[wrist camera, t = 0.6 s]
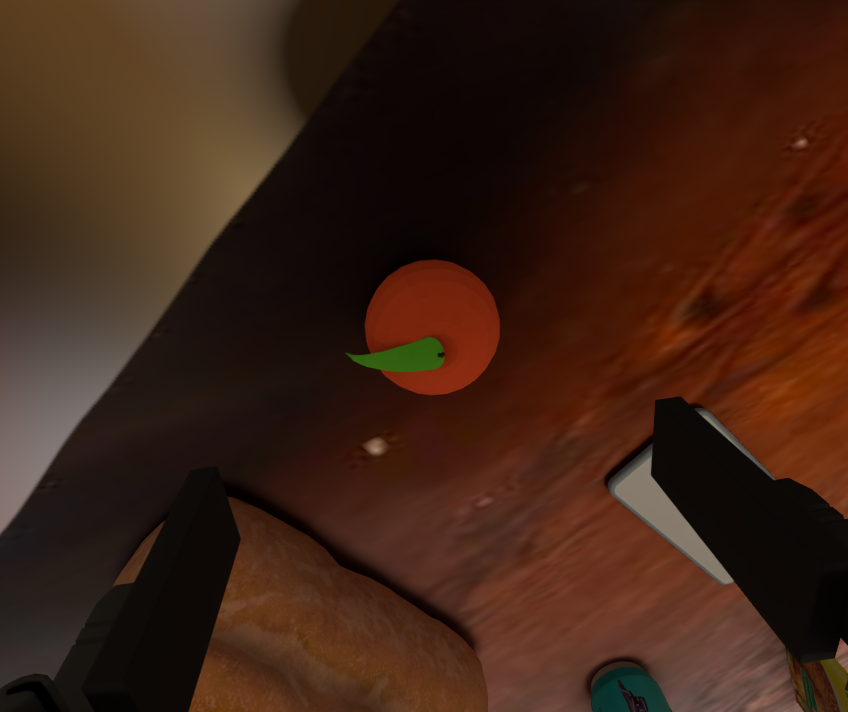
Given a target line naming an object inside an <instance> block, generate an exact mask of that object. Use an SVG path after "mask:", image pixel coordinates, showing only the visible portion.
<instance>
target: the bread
mask: <svg viewBox="0 0 848 712" xmlns="http://www.w3.org/2000/svg"><path fill="white" fill-rule="evenodd" d="M228 501H229V504H230V507H231V510H232V513H233V516H234V519H235V522H236V525H237V528H238V531H239V534H240V537H241V541H240V544H239V548H238V551H237V554H236V557H235V561H234V564H233V567H232V571H231V574H230V577H229V580H228V584H227V587H226V590H225V594H224V597H223V600H222V603H221V607H220V610H219V613H218V617H217V620H216V623H215V626H214V630H213V633H212V636H211V640H210V643H209V646H208V650H207V653H206V656H205V659H204V663H203V666H202V669H201V673H200V676H199V679H198V682H197V686H196V689H195V692H194V696H193V699H192V702H191V705H190V709H189V712H488V695H487V687H486V683H485V678H484V674H483V670H482V666H481V662H480V660H479V659H478V657H477V656H476V654H475V653H474V651H473V650H472V649H471V648H470V646H469V645H468V644H467V643H466V642H465V641H464V640H463V638H462V637H460V636H459V635H458V634H457V633H455V632H454V631H453V630H451V629H450V628H449V627H447V626H446V625H445V624H443V623H442V622H441V621H439V620H436V619H434V618H431V617H429V616H428V615H427V614H425V613H424V612H423V611H421V610H420V609H418V608H417V607H416V606H414V605H413V604H411V603H410V602H408V601H406V600H405V599H403V598H402V597H400V596H398V595H397V594H396V593H395V592H393V591H392V590H391V589H389V588H387V587H385V586H384V585H382V584H380V583H378V582H376V581H374V580H373V579H371V578H369V577H366V576H363V575H361V574H358V573H356V572H353V571H350V570H348V569H346V568H343V567H341V566H339V564H338V563H337V562H336V561H335V560H334V559H333V557H332V556H331V555H330V554H329V553H328V552H327V551H326V549H325V548H323V547H322V546H321V545H320V544H318V543H317V542H316V541H314V540H313V539H312V538H310V537H309V536H308V535H306V534H304V533H302V532H300V531H299V530H297V529H295V528H293V527H291V526H290V525H288V524H286V523H284V522H282V521H281V520H279V519H277V518H275V517H274V516H272V515H270V514H268V513H266V512H265V511H263V510H261V509H259V508H257V507H255V506H252V505H250V504H248V503H246V502H244V501H242V500H239V499H236V498H232V497H228ZM164 522H165V521H164ZM164 522H163V523H161V524H160V525H159V526H158V527H157V528H156V529H155V530H154V531H153V532H152V533H151V534H150V535H149V536H148V537H147V538H146V539H145V540H144V541H143V542H142V543H141V545H140V546H139V548H138V549H137V550H136V552H135V553H134V555H133V556H132V557H131V559H130V560H129V562H128V563H127V564H126V566H125V567H124V569H123V570H122V571H121V573H120V574H119V576H118V578H117V579H116V581H115V583H114V585H113V586H112V588H113V587H114V586H115V585H120V584H127V583H133V582H134V581H135V579H136V577H137V575H138V573H139V571H140V569H141V568H142V566H143V564H144V562H145V560H146V558H147V556H148V554H149V552H150V550H151V548H152V546H153V544H154V542H155V540H156V538H157V536H158V534H159V532H160V530H161V528H162V526H163V524H164ZM112 588H111V589H112Z"/></svg>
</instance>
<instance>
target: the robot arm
mask: <svg viewBox="0 0 848 712" xmlns="http://www.w3.org/2000/svg"><path fill="white" fill-rule="evenodd" d="M651 476H652V478H653V479H654V480H655V481H656V483H657V484H658V485H659V486H660V488H661V489H662V490H663V492H664V493H665V494H666V495H667V497H668V498H669V499H670V500H671V502H672V503H673V504H674V505H675V507H676V508H677V509H678V511H679V512H680V513H681V514H682V516H683V517H684V518H685V519H686V521H687V522H688V523H689V525H690V526H691V527H692V528H693V530H694V531H695V532H696V533H697V535H698V536H699V537H700V538H701V540H702V541H703V542H704V544H705V545H706V546H707V547H708V549H709V550H710V551H711V552H712V554H713V555H714V556H715V558H716V559H717V560H718V561H719V563H720V564H721V565H722V566H723V568H724V569H725V570H726V571H727V573H728V574H729V575H730V577H731V578H732V579H733V580H734V582H735V583H736V584H737V585H738V587H739V588H740V589H741V591H742V592H743V593H744V594H745V596H746V597H747V598H748V599H749V601H750V602H751V603H752V604H753V606H754V607H755V608H756V610H757V611H758V612H759V613H760V615H761V616H762V617H763V618H764V620H765V621H766V622H767V623H768V625H769V626H770V627H771V629H772V630H773V631H774V632H775V634H776V635H777V636H778V637H779V639H780V640H781V641H782V643H783V644H784V645H785V646H786V648H787V649H788V650H789V651H790V653H791V654H792V655H793V656H794V658H795V659H796V660H797V662H798V663H799V664H804V663H810V662H816V661H822V660H827V659H833V658H835V655H836V652H837V648H838V645H839V641H840V638H841V639H842V640H843V641H844V642H845V643H846V644H847V645H848V519H844V517H843V515H842V514H840V513H839V512H838V511H837V510H836V509H834V508H833V507H830V506H829V504H828V503H827V502H826V501H825V500H824V499H823V498H821V497H820V496H819V495H818V494H817V493H815V492H814V491H813V490H812V489H810V488H808V487H806V486H804V485H802V484H800V483H798V482H796V481H794V480H792V479H790V478H785V479H779V480H773V479H772V478H771V477H770V476H769V475H767V474H766V473H765V472H764V471H763V470H762V469H761V468H760V467H759V466H757V465H756V464H755V463H754V462H753V461H752V460H751V459H750V458H748V457H747V456H746V455H745V454H744V453H743V452H742V451H741V450H740V449H738V448H737V447H736V446H735V445H734V444H733V443H732V442H731V441H729V440H728V439H727V438H726V437H725V436H724V435H723V434H722V433H721V432H719V431H718V430H717V429H716V428H715V427H714V426H713V425H712V424H710V423H709V422H708V421H707V420H706V419H705V418H704V417H703V416H702V415H700V414H699V413H698V412H697V411H696V410H695V409H694V408H693V407H691V406H690V405H689V404H688V403H687V402H686V401H685V400H684V399H683V398H681V397H673V398H667V399H660V400H655V415H654V431H653V446H652V462H651ZM240 541H241V537H240V534H239V531H238V528H237V525H236V522H235V519H234V516H233V513H232V510H231V507H230V504H229V501H228V497H227V494H226V491H225V488H224V485H223V482H222V479H221V476H220V473H219V470H218V467H217V466H215V467H208V468H202V469H195V470H191V471H190V473H189V475H188V477H187V479H186V481H185V483H184V485H183V487H182V489H181V491H180V492H179V494H178V496H177V498H176V500H175V502H174V504H173V506H172V508H171V510H170V512H169V514H168V516H167V518H166V520H165V522H164V524H163V526H162V528H161V530H160V532H159V534H158V536H157V538H156V540H155V542H154V544H153V546H152V548H151V550H150V552H149V554H148V556H147V558H146V560H145V562H144V564H143V566H142V568H141V569H140V571H139V573H138V575H137V577H136V579H135V581H134V582H133V583H127V584H120V585H115V586H114V587H113V588H112V589H111V590H110V591H109V592H108V593H107V594H106V595H105V596H104V597H103V598H102V599H101V600H100V601H99V602H98V603H97V604H96V605H95V607H94V609H93V611H92V612H91V614H90V616H89V618H88V620H87V621H86V623H85V628H83V629H82V630H81V632H80V634H79V636H78V637H77V639H76V644H75V645H73V646H72V648H71V650H70V652H69V653H68V655H67V657H66V659H65V661H64V662H63V664H62V666H61V668H60V669H59V671H58V673H57V675H56V677H55V678H54V680H53V681H52V680H51V679H50V678H49V677H48V676H47V675H41V674H32V675H28V676H24V677H20V678H19V679H17V680H15V681H13V682H11V683H9V684H7V685H5V686H3V687H2V688H1V689H0V712H189V709H190V705H191V702H192V699H193V696H194V692H195V689H196V686H197V682H198V679H199V676H200V673H201V669H202V666H203V663H204V659H205V656H206V653H207V650H208V646H209V643H210V640H211V636H212V633H213V630H214V626H215V623H216V620H217V617H218V613H219V610H220V607H221V603H222V600H223V597H224V594H225V590H226V587H227V584H228V580H229V577H230V574H231V571H232V567H233V564H234V561H235V557H236V554H237V551H238V548H239V544H240ZM845 690H847V691H848V680H847V684H846V687H845Z"/></svg>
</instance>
